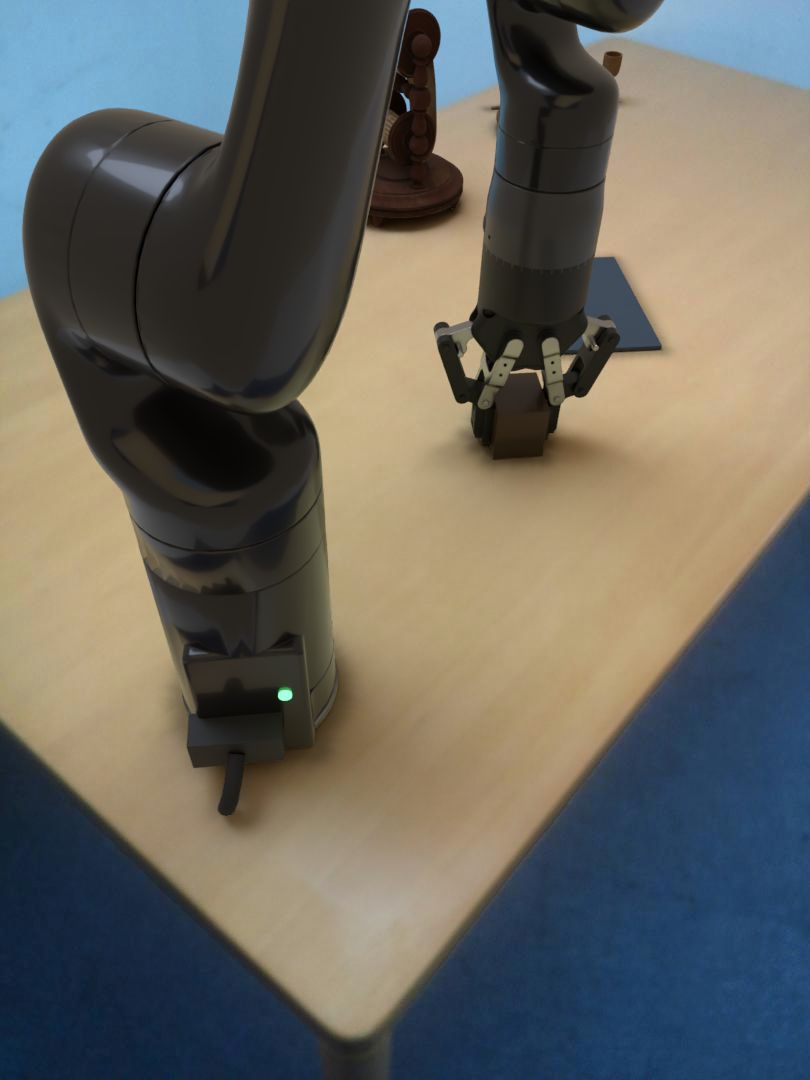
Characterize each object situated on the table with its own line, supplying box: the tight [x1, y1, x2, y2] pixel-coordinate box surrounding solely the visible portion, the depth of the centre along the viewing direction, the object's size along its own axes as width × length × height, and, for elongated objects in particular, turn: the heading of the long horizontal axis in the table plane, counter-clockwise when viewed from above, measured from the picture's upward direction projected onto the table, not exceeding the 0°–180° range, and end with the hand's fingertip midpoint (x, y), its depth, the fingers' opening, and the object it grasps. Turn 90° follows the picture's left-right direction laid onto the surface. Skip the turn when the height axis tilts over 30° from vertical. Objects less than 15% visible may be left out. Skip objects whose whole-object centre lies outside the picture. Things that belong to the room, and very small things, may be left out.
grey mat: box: [563, 256, 663, 355], centre depth 84 cm, size 16×12×1 cm
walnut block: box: [488, 371, 550, 460], centre depth 69 cm, size 5×4×4 cm
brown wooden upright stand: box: [368, 7, 464, 228], centre depth 91 cm, size 15×15×20 cm
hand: (512, 434), depth 70 cm, fingers closed on walnut block, 4 cm apart
